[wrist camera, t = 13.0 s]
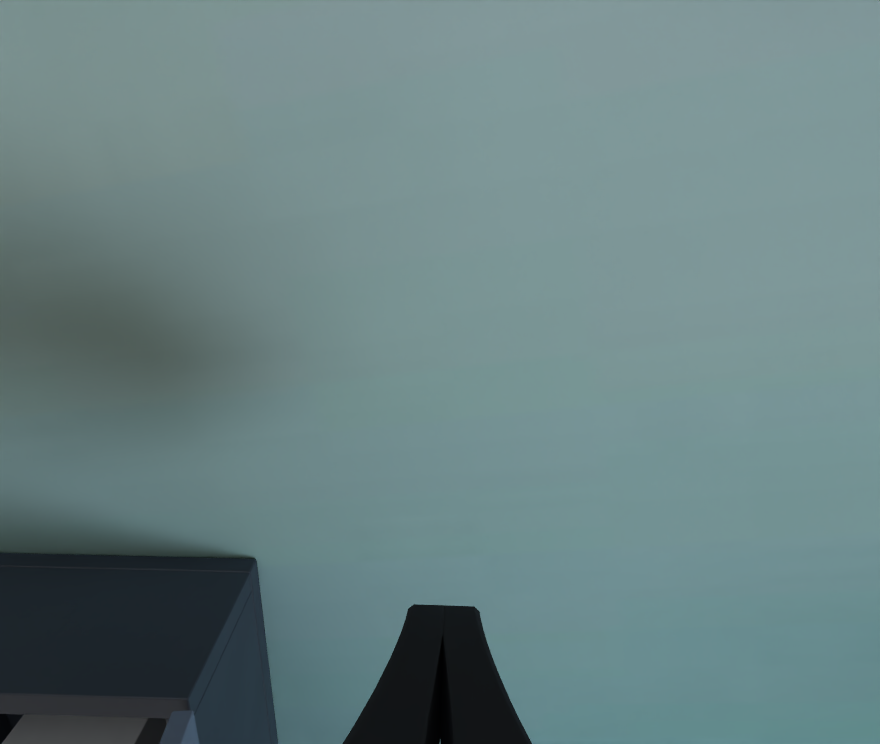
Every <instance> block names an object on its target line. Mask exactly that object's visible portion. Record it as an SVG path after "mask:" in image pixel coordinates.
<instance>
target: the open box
mask: <svg viewBox="0 0 880 744" xmlns="http://www.w3.org/2000/svg"><path fill="white" fill-rule="evenodd" d="M189 710H192V711H194V717H195V722H196V728H197V733H198V739H199V744H278V739H277V731H276V722H275V714H274V705H273V697H272V688H271V680H270V671H269V663H268V654H267V646H266V638H265V629H264V621H263V612H262V604H261V595H260V587H259V578H258V570H257V561H256V559H240V558H195V557H151V556H107V555H63V554H19V553H0V744H2V743H3V741H4V740H5V739H6V737H7V736H8V735H9V733H10V732H11V731H12V729H13V728H14V727H15V726H16V724H17V723H18V722H19V720H20V719H21V718H22V716H23V715H24V714H26V715H60V716H94V717H128V718H163V719H166V725H167V723H168V720H169V718H170V716H171V713H172V712H173V711H189Z"/></svg>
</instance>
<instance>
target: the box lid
mask: <svg viewBox="0 0 880 744" xmlns="http://www.w3.org/2000/svg"><path fill="white" fill-rule="evenodd" d="M159 744H199V739H198V733H197V728H196V722H195V717H194V711H192V710H189V711H173V712H172V713H171V716H170V718H169V720H168V723H167V725H166V728H165V730H164V733H163V735H162V738H161V740H160V743H159Z"/></svg>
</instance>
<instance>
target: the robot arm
mask: <svg viewBox="0 0 880 744" xmlns="http://www.w3.org/2000/svg"><path fill="white" fill-rule="evenodd" d="M440 741H441V744H532V743H531V741H530V739H529V737H528V735H527V733H526V731H525V729H524V727H523V726H522V724H521V722H520V720H519V718H518V716H517V714H516V712H515V709H514V707H513V705H512V703H511V701H510V699H509V697H508V694H507V692H506V690H505V687H504V685H503V683H502V680H501V678H500V676H499V673H498V671H497V668H496V666H495V663H494V661H493V658H492V655H491V652H490V650H489V647H488V644H487V641H486V637H485V634H484V631H483V627H482V623H481V618H480V612H479V611H478V610H477V609H476V608H475V607H471V606H443V605H415V604H414V605H413V606H411V607H410V608H409V609H408V612H407V616H406V620H405V623H404V626H403V629H402V631H401V634H400V637H399V639H398V642H397V644H396V646H395V648H394V651H393V653H392V655H391V658H390V660H389V662H388V664H387V666H386V668H385V670H384V672H383V674H382V676H381V678H380V680H379V682H378V684H377V686H376V688H375V690H374V692H373V693H372V695H371V697H370V699H369V700H368V702H367V704H366V706H365V707H364V709H363V711H362V713H361V714H360V716H359V718H358V720H357V721H356V723H355V725H354V726H353V728H352V730H351V731H350V733H349V734H348V736H347V737H346V739H345V741H344V742H343V744H439V743H440Z"/></svg>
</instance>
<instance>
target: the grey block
mask: <svg viewBox="0 0 880 744" xmlns="http://www.w3.org/2000/svg"><path fill="white" fill-rule="evenodd" d="M165 728H166V719H163V718H128V717H94V716H60V715H26V714H24V715H23V716H22V718H21V719H20V720H19V722H18V723H17V724H16V726H15V727H14V728H13V729H12V731H11V732H10V733H9V735H8V736H7V737H6V739H5V740H4V741H3V743H2V744H159V743H160V740H161V738H162V735H163V733H164V730H165Z"/></svg>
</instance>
